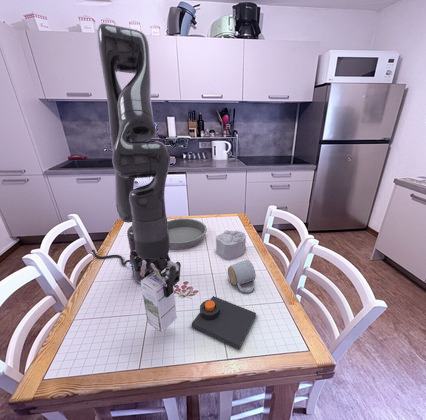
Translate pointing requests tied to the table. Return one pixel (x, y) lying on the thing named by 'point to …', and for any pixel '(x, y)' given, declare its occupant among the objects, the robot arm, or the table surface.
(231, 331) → the black button base
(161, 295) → the syrup box
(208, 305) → the button
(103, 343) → the table surface
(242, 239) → the lumpy-topped squat cylinder
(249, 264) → the ceramic mug
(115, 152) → the robot arm
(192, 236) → the cake pan
